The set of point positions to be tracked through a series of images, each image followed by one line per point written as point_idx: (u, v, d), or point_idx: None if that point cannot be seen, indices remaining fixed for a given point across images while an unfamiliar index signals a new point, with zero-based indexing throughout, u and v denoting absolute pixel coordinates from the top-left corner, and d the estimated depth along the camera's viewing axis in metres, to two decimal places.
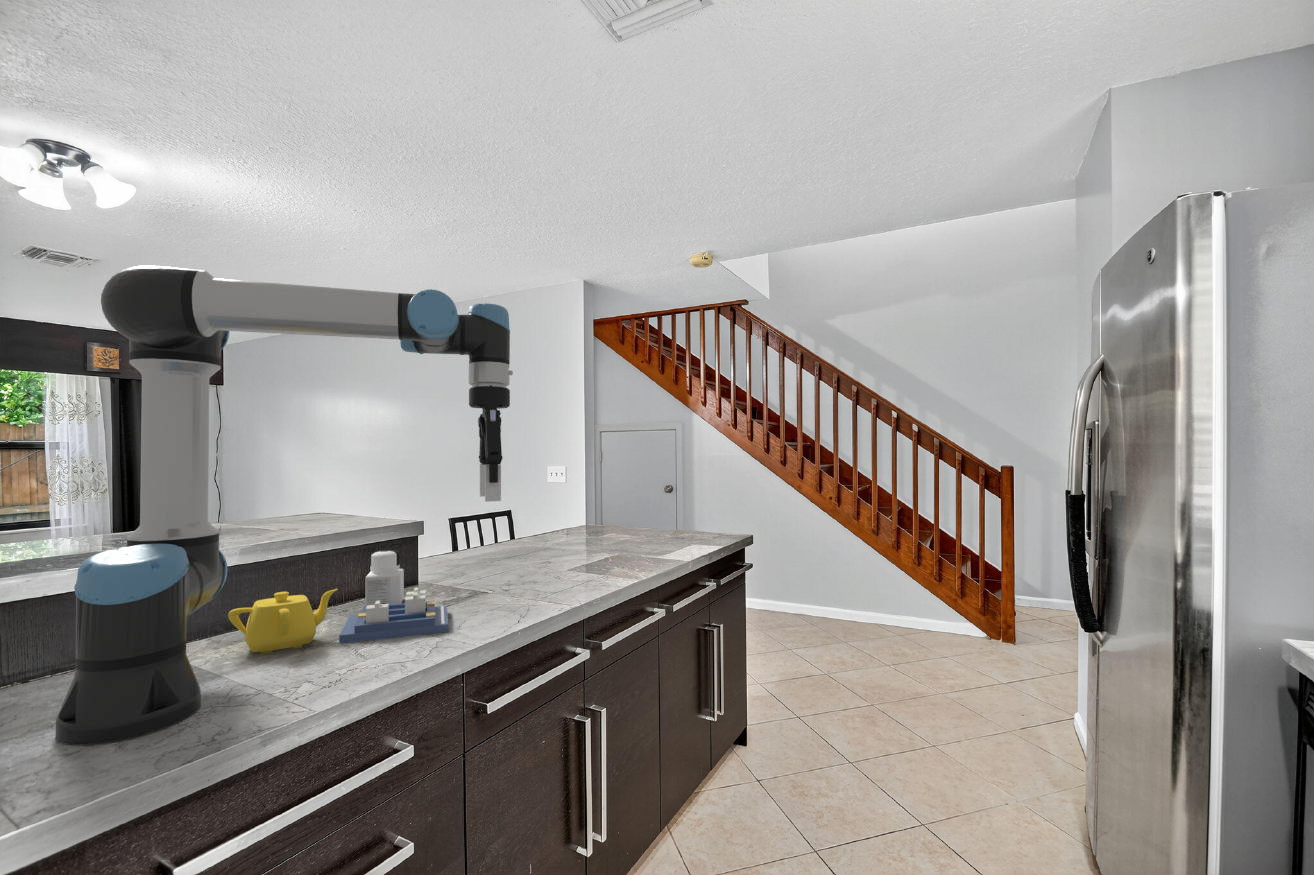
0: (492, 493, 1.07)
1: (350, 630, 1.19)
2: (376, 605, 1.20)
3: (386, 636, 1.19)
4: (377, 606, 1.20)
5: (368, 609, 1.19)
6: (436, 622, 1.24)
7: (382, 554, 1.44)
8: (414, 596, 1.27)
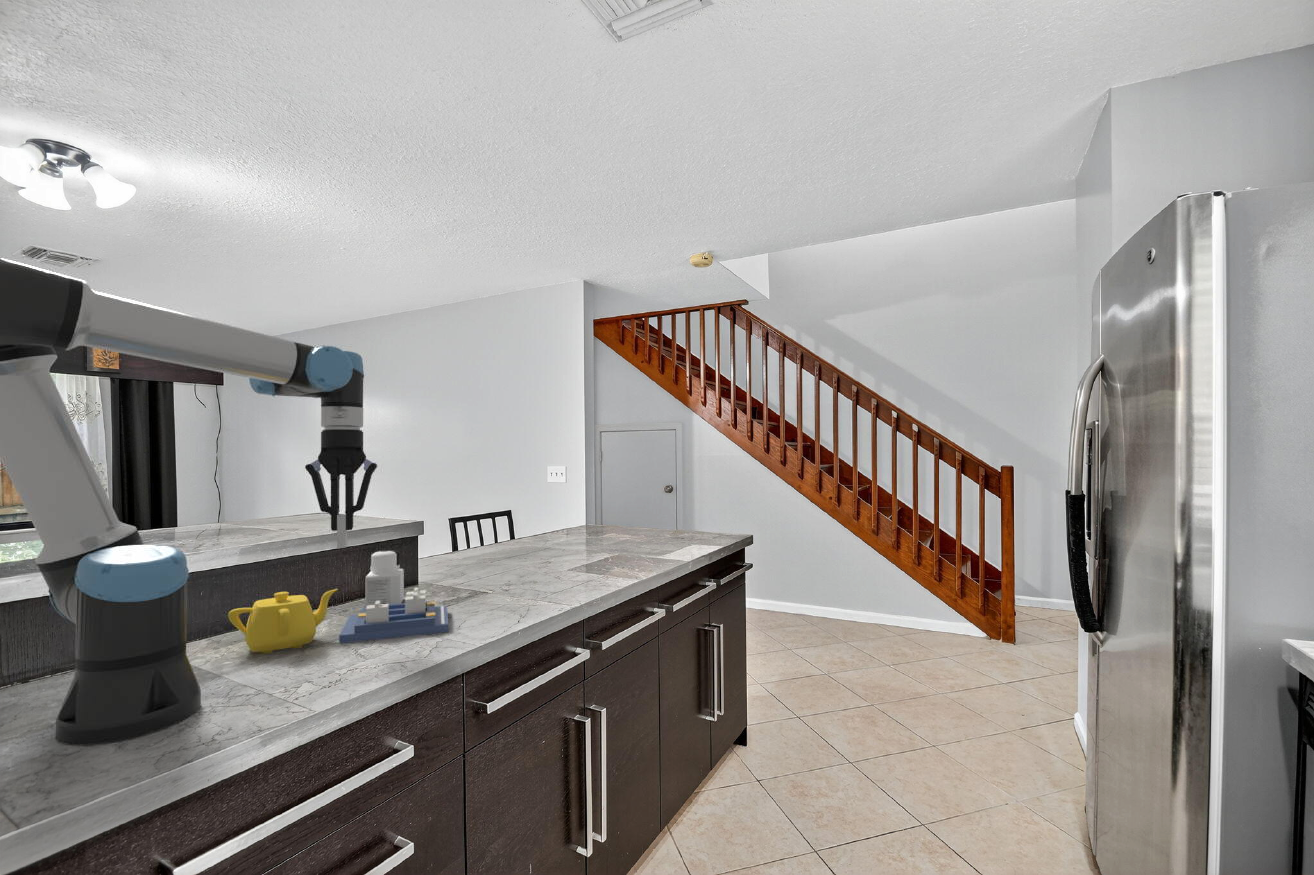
0: None
1: (350, 630, 1.19)
2: (376, 605, 1.20)
3: (386, 636, 1.19)
4: (377, 606, 1.20)
5: (368, 609, 1.19)
6: (436, 622, 1.24)
7: (382, 554, 1.44)
8: (414, 596, 1.27)
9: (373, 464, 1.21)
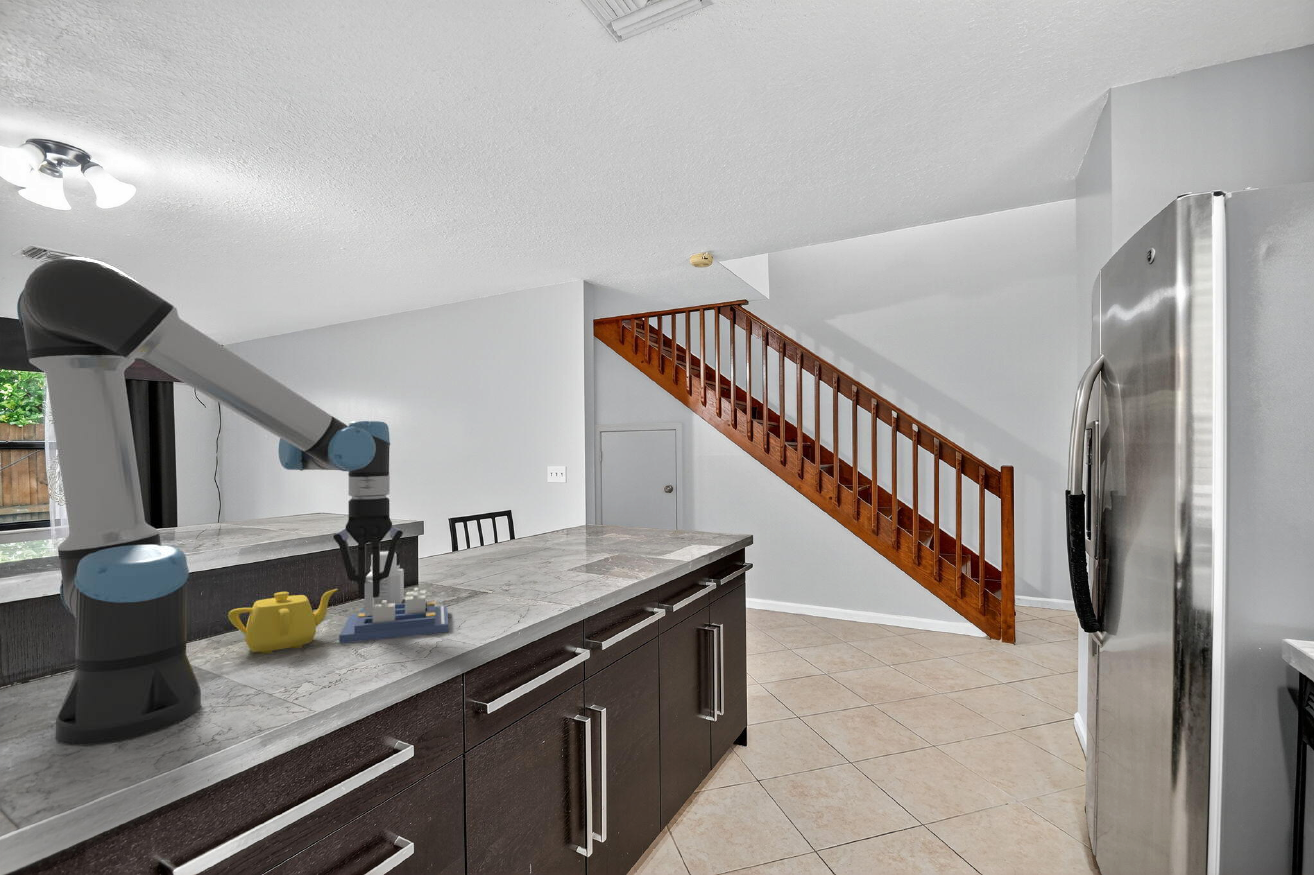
0: None
1: (350, 630, 1.19)
2: (383, 604, 1.20)
3: (386, 636, 1.19)
4: (384, 605, 1.20)
5: (375, 608, 1.20)
6: (436, 622, 1.24)
7: (382, 554, 1.44)
8: (414, 596, 1.27)
9: (399, 531, 1.22)
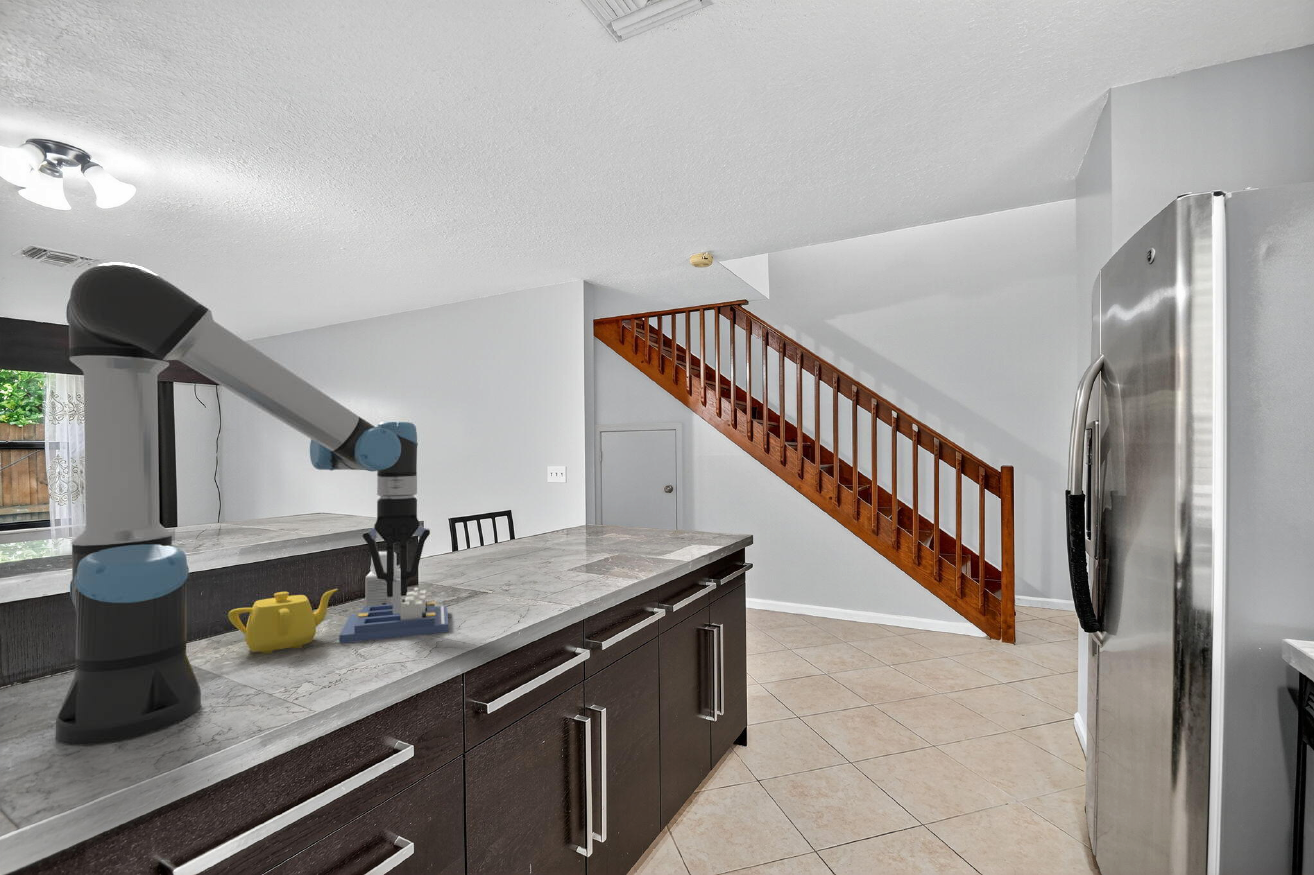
0: None
1: (350, 630, 1.19)
2: (410, 602, 1.22)
3: (386, 636, 1.19)
4: (411, 603, 1.22)
5: (403, 606, 1.22)
6: (436, 622, 1.24)
7: (382, 554, 1.44)
8: (414, 596, 1.27)
9: (427, 531, 1.24)
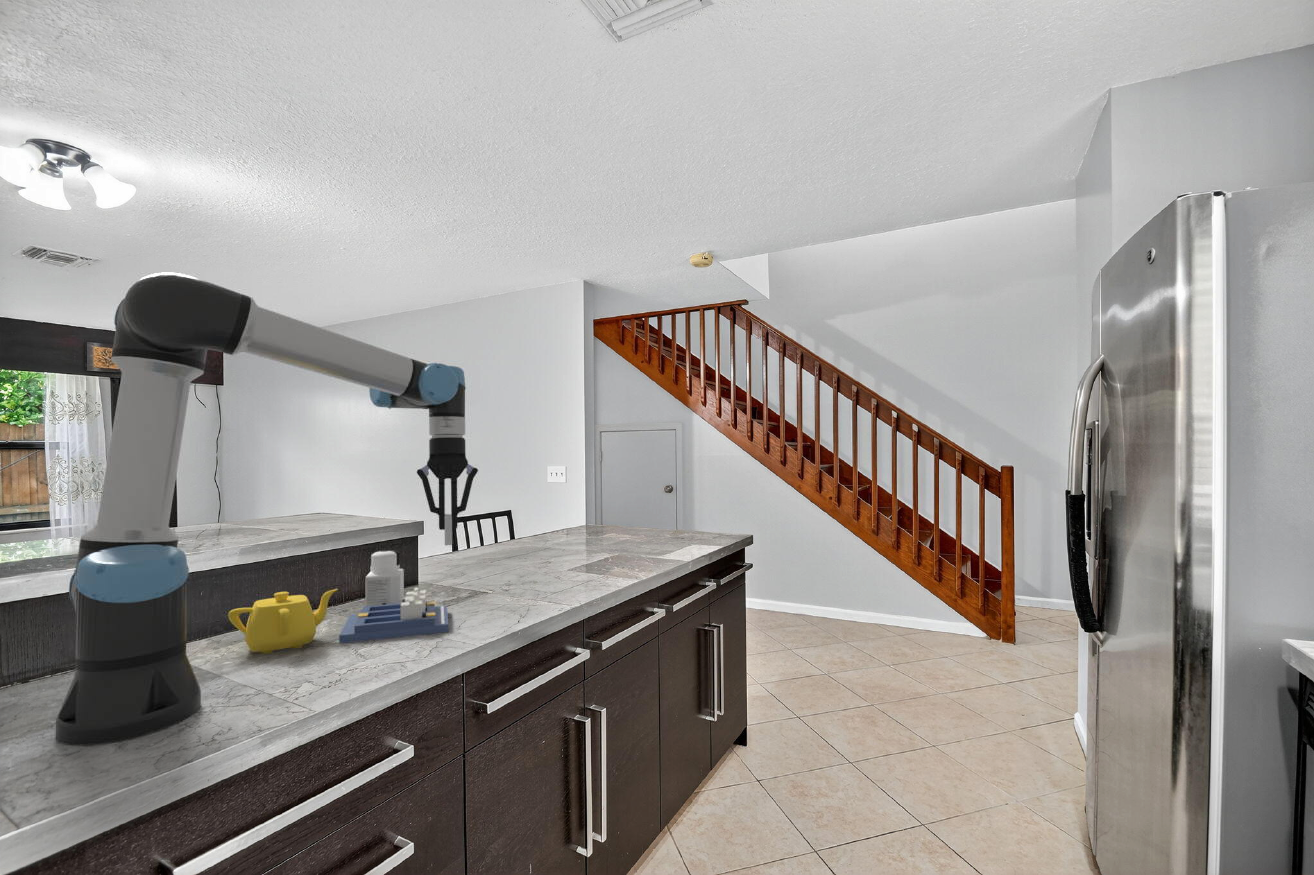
0: None
1: (350, 630, 1.19)
2: (410, 602, 1.22)
3: (386, 636, 1.19)
4: (411, 603, 1.22)
5: (403, 606, 1.22)
6: (436, 622, 1.24)
7: (382, 554, 1.44)
8: (414, 596, 1.27)
9: (475, 469, 1.32)
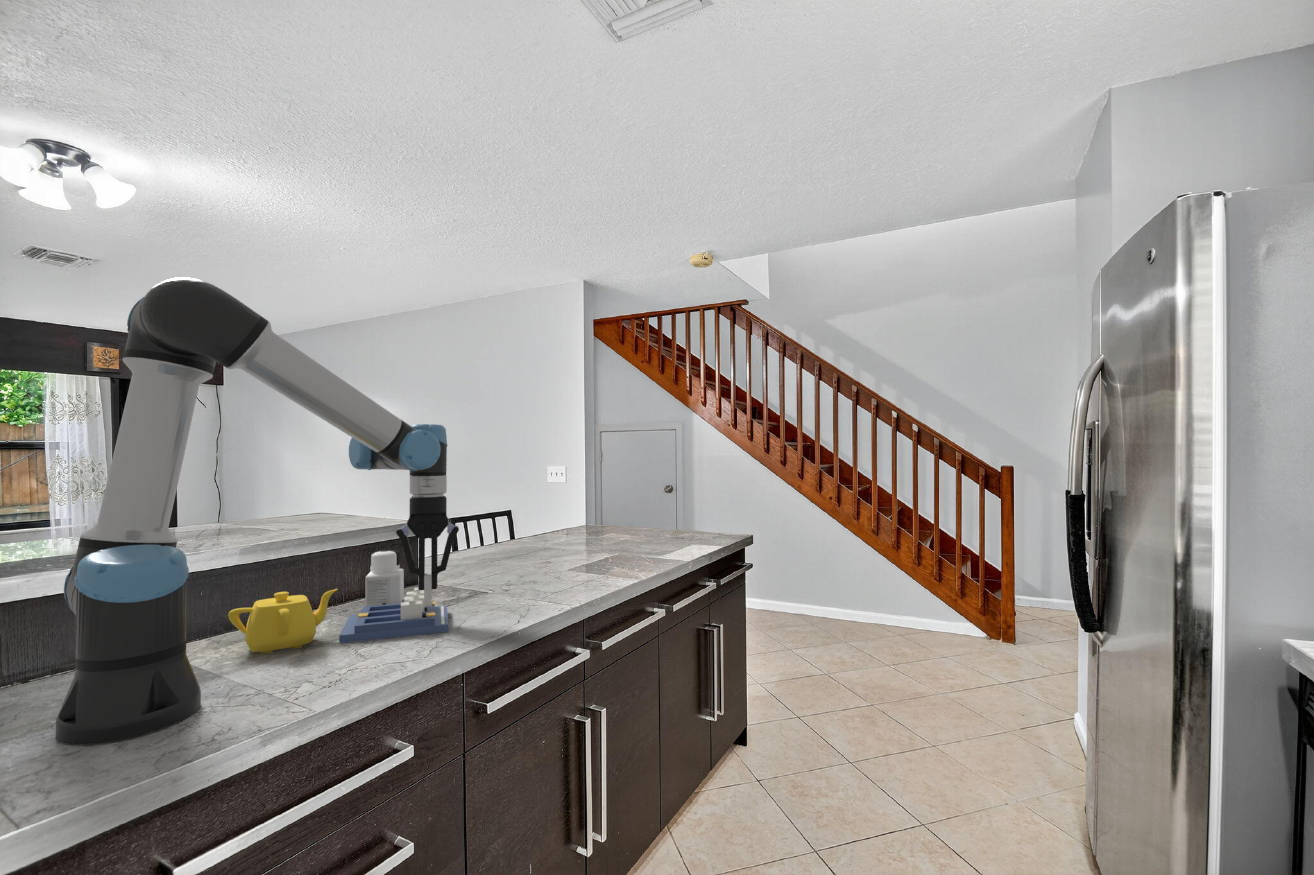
0: None
1: (350, 630, 1.19)
2: (410, 602, 1.22)
3: (386, 636, 1.19)
4: (411, 603, 1.22)
5: (403, 606, 1.22)
6: (436, 622, 1.24)
7: (382, 554, 1.44)
8: (413, 596, 1.27)
9: (456, 528, 1.30)
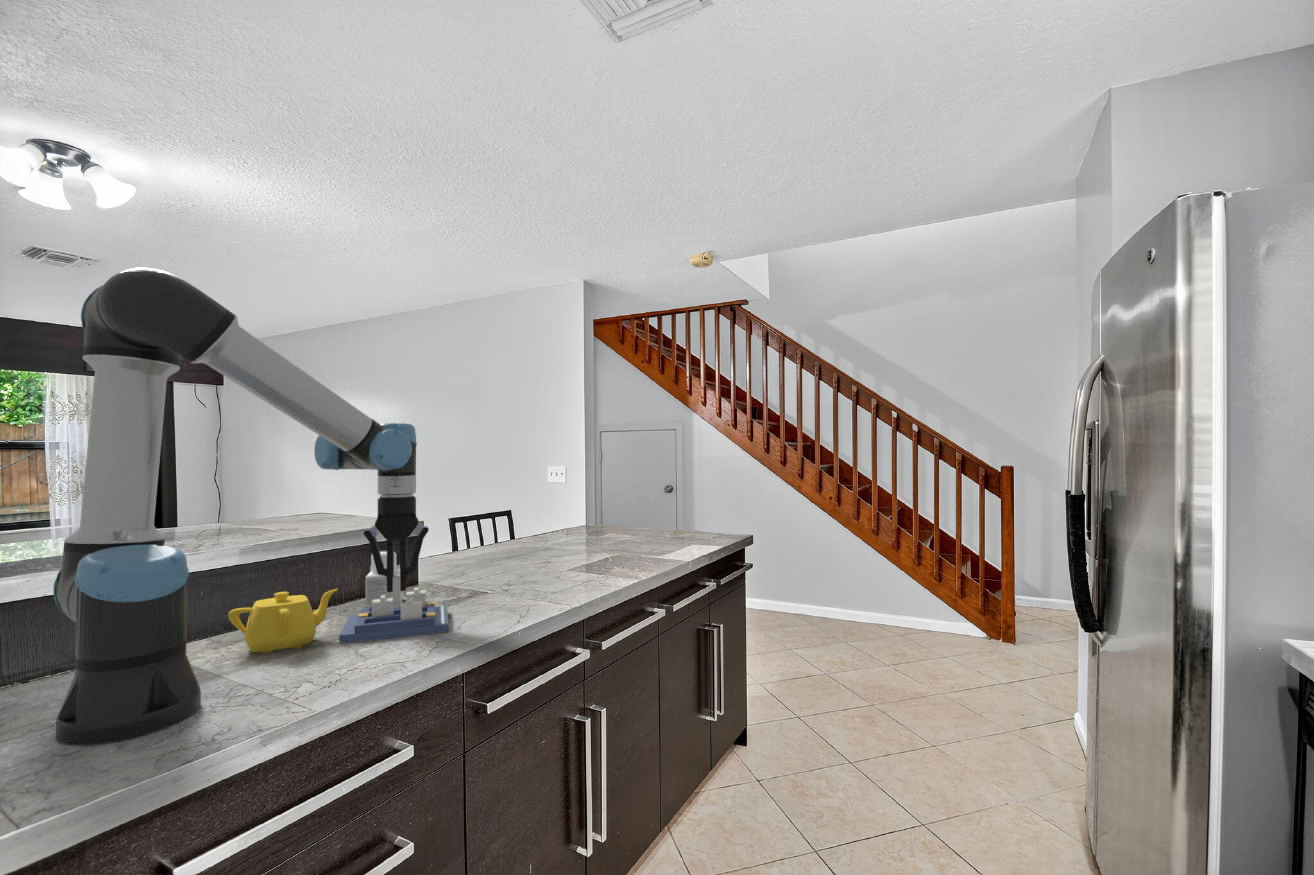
0: None
1: (350, 630, 1.19)
2: (410, 602, 1.22)
3: (386, 636, 1.19)
4: (411, 603, 1.22)
5: (403, 606, 1.22)
6: (436, 622, 1.24)
7: (382, 554, 1.44)
8: (381, 599, 1.25)
9: (425, 528, 1.28)
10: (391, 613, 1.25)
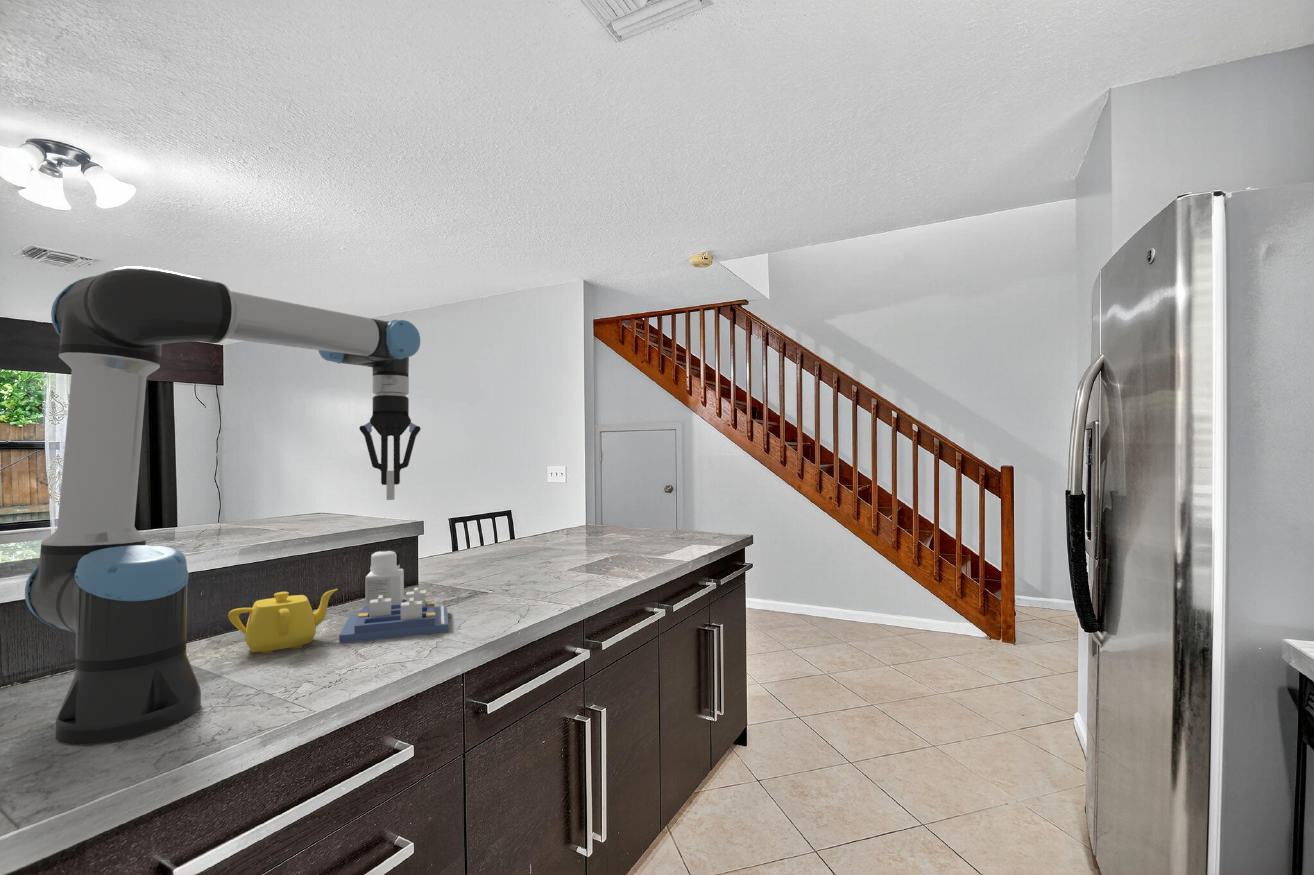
0: None
1: (350, 630, 1.19)
2: (410, 602, 1.22)
3: (386, 636, 1.19)
4: (411, 603, 1.22)
5: (403, 606, 1.22)
6: (436, 622, 1.24)
7: (382, 554, 1.44)
8: (379, 599, 1.25)
9: (417, 427, 1.37)
10: (389, 613, 1.25)
